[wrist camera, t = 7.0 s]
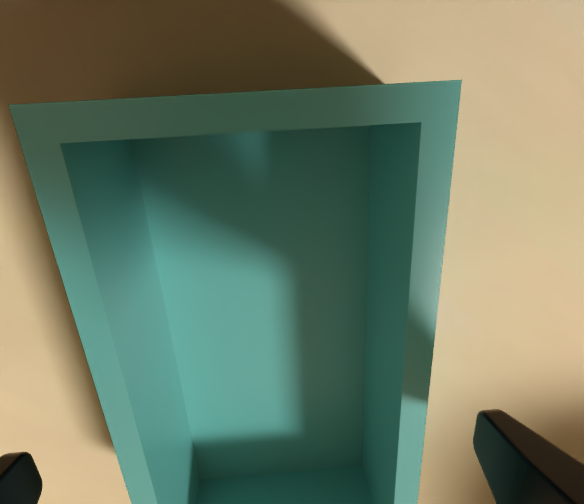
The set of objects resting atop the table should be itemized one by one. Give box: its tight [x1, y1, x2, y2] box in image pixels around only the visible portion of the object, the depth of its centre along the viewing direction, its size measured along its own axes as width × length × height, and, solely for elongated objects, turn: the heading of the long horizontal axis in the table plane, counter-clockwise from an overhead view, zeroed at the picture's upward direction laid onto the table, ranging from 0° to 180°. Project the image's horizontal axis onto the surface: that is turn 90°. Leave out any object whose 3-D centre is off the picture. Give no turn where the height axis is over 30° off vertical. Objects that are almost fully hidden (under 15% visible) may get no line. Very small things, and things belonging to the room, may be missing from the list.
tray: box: [8, 80, 462, 504], centre depth 10 cm, size 7×13×4 cm, turn 3°
